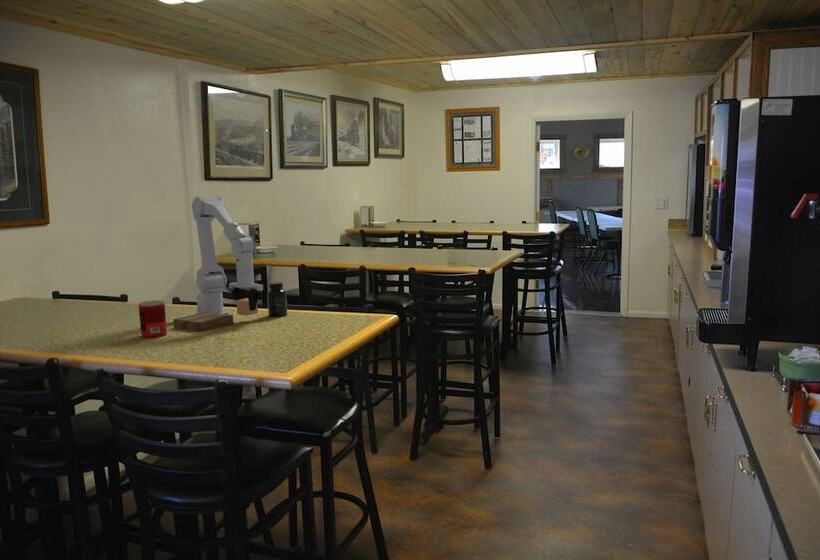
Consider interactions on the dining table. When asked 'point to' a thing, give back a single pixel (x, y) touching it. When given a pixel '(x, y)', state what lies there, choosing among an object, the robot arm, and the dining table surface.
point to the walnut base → (203, 321)
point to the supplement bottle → (276, 300)
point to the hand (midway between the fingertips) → (247, 309)
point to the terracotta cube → (245, 307)
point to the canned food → (152, 319)
